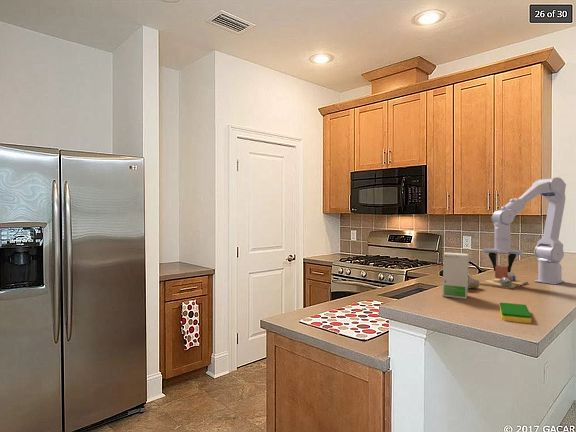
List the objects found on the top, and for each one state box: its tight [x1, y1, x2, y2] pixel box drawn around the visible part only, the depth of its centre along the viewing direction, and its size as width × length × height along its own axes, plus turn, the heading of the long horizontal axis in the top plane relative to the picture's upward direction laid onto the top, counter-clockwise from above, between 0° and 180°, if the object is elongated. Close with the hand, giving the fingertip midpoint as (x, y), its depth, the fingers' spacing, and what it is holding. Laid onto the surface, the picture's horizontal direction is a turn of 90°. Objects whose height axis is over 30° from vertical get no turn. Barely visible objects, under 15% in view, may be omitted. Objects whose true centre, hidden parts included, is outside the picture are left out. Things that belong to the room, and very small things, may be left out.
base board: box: [479, 277, 529, 290], centre depth 159 cm, size 17×12×1 cm
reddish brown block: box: [494, 264, 510, 279], centre depth 158 cm, size 4×4×5 cm
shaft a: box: [508, 271, 517, 281], centre depth 162 cm, size 5×3×3 cm
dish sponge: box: [499, 302, 532, 324], centre depth 113 cm, size 7×14×2 cm, turn 153°
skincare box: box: [442, 251, 470, 300], centre depth 138 cm, size 8×7×16 cm
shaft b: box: [500, 276, 511, 286], centre depth 152 cm, size 4×3×3 cm
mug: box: [468, 274, 481, 289], centre depth 151 cm, size 8×10×10 cm
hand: (502, 271), depth 158 cm, fingers closed on reddish brown block, 4 cm apart
